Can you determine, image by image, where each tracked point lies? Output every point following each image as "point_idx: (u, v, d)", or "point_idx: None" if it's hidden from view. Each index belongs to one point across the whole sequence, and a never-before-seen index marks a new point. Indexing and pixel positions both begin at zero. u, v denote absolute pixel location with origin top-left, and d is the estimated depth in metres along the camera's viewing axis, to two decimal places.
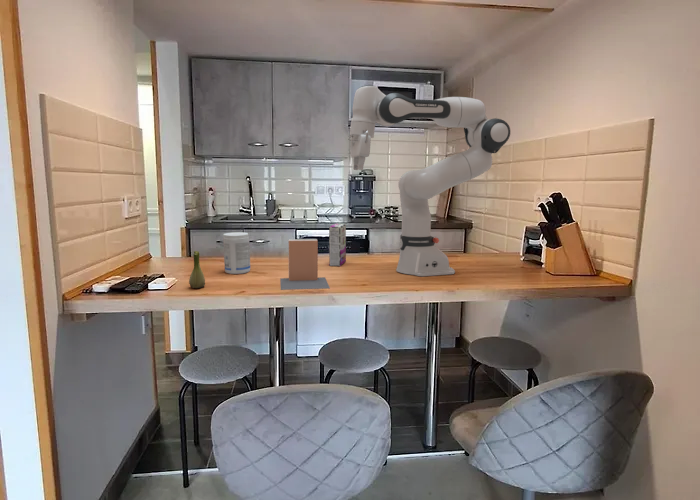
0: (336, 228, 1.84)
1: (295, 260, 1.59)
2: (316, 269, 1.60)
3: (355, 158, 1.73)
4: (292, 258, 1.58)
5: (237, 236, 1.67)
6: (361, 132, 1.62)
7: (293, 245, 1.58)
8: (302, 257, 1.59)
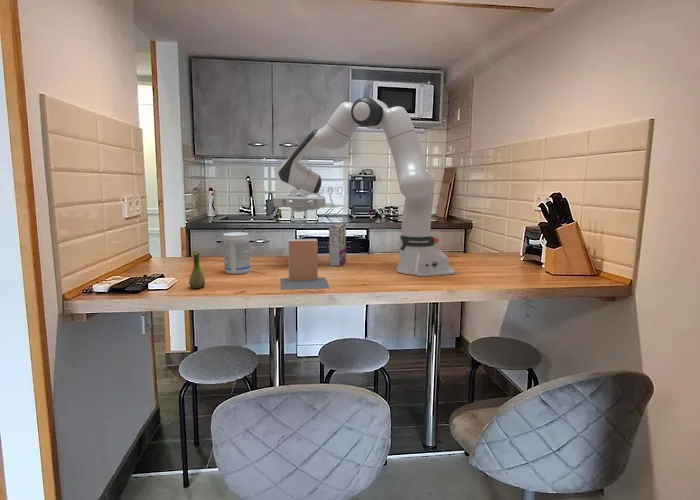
0: (336, 228, 1.84)
1: (295, 260, 1.59)
2: (316, 269, 1.60)
3: None
4: (292, 258, 1.58)
5: (237, 236, 1.67)
6: None
7: (293, 245, 1.58)
8: (302, 257, 1.59)
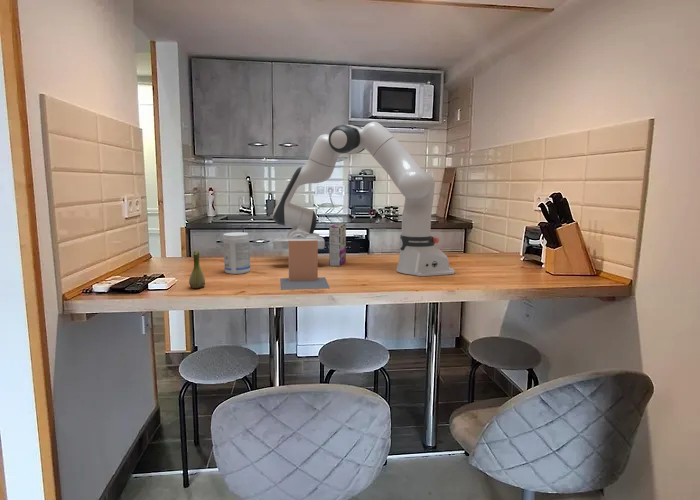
0: (336, 228, 1.84)
1: (295, 260, 1.59)
2: (316, 269, 1.60)
3: None
4: (292, 258, 1.58)
5: (237, 236, 1.67)
6: None
7: (293, 245, 1.58)
8: (302, 257, 1.59)
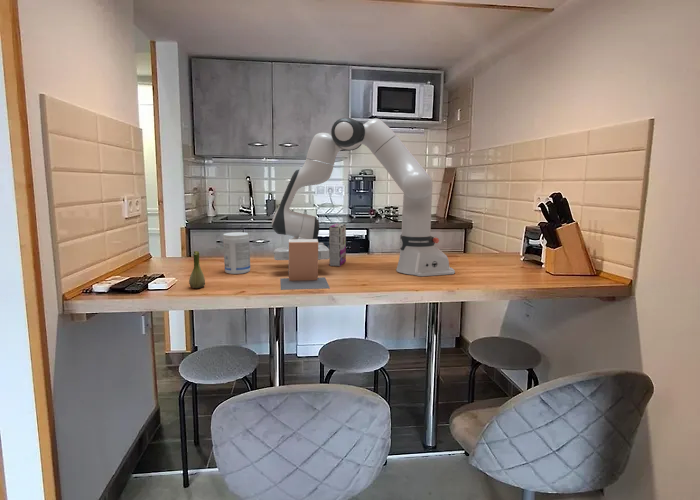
0: (336, 228, 1.84)
1: (295, 261, 1.57)
2: (316, 270, 1.60)
3: None
4: (292, 259, 1.57)
5: (237, 236, 1.67)
6: None
7: (293, 247, 1.55)
8: (302, 258, 1.57)
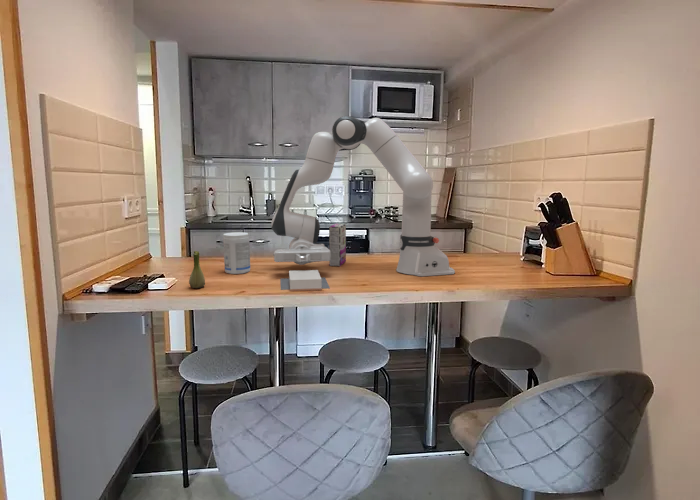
0: (336, 228, 1.84)
1: None
2: None
3: None
4: None
5: (237, 236, 1.67)
6: None
7: None
8: None
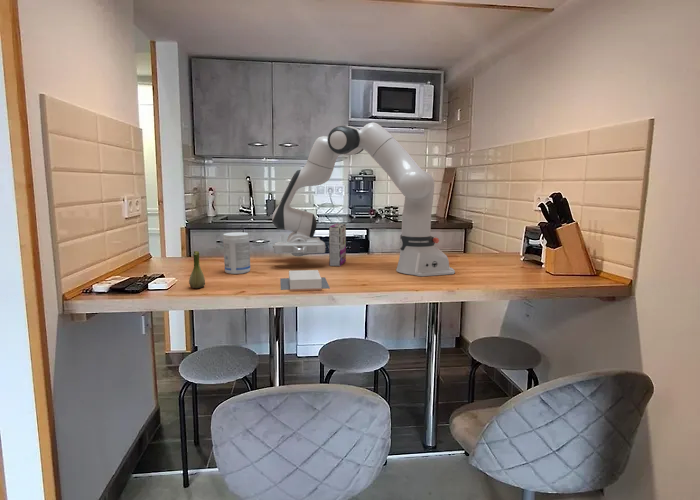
0: (336, 228, 1.84)
1: None
2: None
3: None
4: None
5: (237, 236, 1.67)
6: None
7: None
8: None
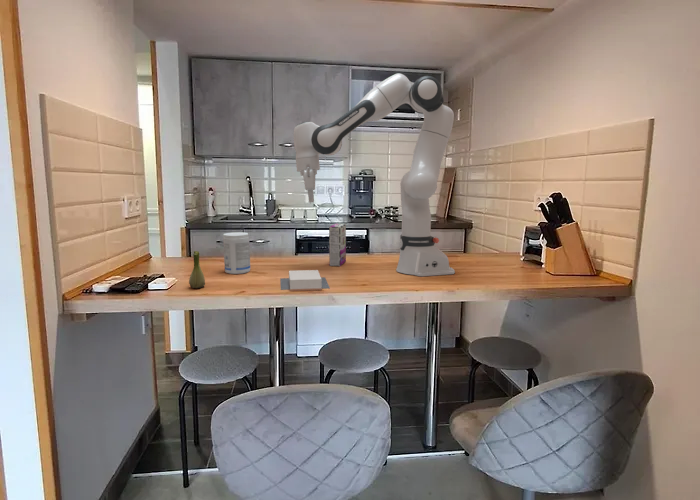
0: (336, 228, 1.84)
1: None
2: None
3: None
4: None
5: (237, 236, 1.67)
6: (305, 167, 1.71)
7: None
8: None
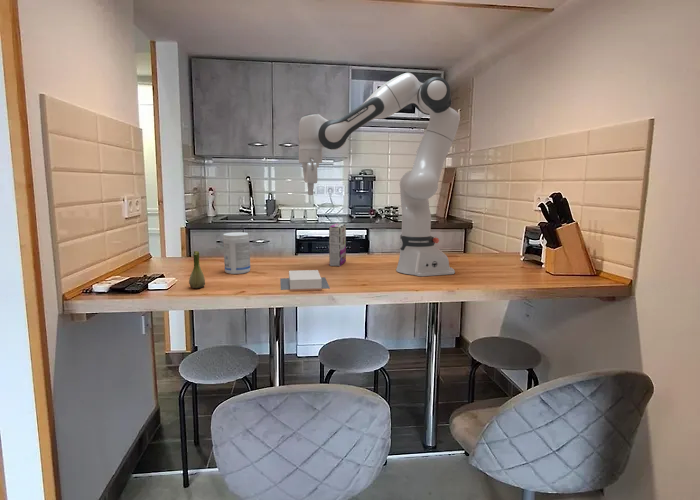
0: (336, 228, 1.84)
1: None
2: None
3: None
4: None
5: (237, 236, 1.67)
6: (308, 160, 1.69)
7: None
8: None
